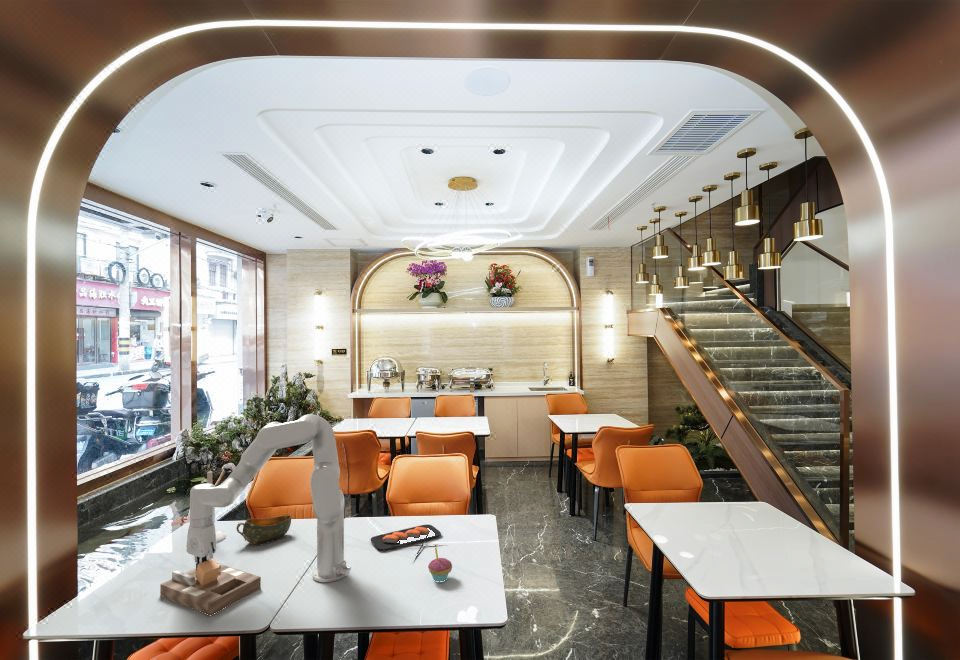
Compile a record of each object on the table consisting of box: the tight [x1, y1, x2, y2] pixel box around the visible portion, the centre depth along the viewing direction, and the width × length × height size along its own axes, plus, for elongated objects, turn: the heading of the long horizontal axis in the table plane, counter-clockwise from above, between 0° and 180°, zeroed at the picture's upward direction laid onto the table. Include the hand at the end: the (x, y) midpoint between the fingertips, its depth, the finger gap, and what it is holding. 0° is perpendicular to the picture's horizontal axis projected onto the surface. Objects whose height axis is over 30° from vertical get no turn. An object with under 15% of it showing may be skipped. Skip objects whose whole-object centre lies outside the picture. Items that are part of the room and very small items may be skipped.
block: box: [195, 558, 220, 585], centre depth 157 cm, size 5×5×5 cm
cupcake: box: [427, 544, 453, 582], centre depth 165 cm, size 9×8×12 cm
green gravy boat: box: [236, 514, 292, 546], centre depth 200 cm, size 13×20×10 cm, turn 100°
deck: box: [159, 562, 262, 616], centre depth 158 cm, size 27×18×6 cm, turn 64°
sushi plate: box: [370, 524, 442, 555], centre depth 192 cm, size 29×30×4 cm
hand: (201, 573), depth 160 cm, fingers closed
